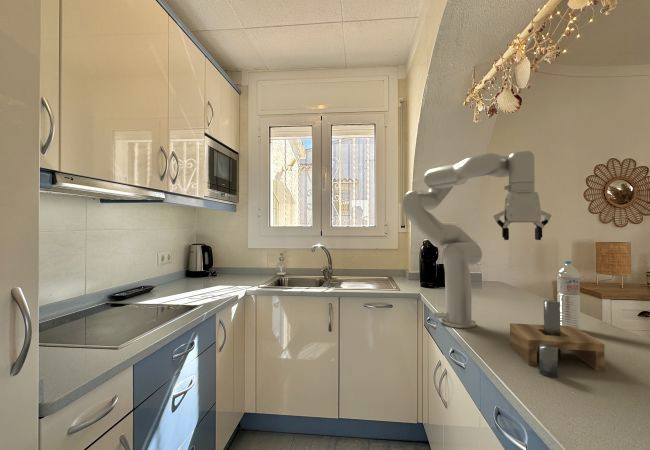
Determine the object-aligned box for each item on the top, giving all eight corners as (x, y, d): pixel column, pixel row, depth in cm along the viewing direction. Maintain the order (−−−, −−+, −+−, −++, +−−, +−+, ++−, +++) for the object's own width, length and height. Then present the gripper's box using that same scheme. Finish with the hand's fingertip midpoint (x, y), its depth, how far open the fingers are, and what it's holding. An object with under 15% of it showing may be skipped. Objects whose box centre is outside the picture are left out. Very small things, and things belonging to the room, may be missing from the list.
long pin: (547, 358, 97) (546, 302, 97) (541, 353, 101) (541, 299, 101) (563, 359, 96) (562, 303, 96) (556, 354, 100) (556, 300, 100)
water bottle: (558, 330, 123) (558, 261, 123) (556, 325, 129) (555, 259, 129) (582, 333, 120) (581, 262, 120) (578, 328, 126) (577, 260, 126)
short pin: (543, 376, 86) (542, 349, 86) (536, 370, 90) (536, 343, 90) (561, 378, 85) (560, 350, 85) (553, 371, 89) (553, 344, 89)
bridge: (528, 365, 93) (528, 339, 93) (510, 345, 108) (509, 323, 108) (604, 370, 89) (604, 344, 89) (574, 349, 104) (573, 326, 104)
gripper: (496, 188, 112) (497, 240, 112) (555, 186, 109) (555, 240, 108) (490, 190, 120) (491, 239, 120) (545, 189, 116) (546, 239, 116)
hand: (522, 239), depth 114 cm, fingers open, 9 cm apart
